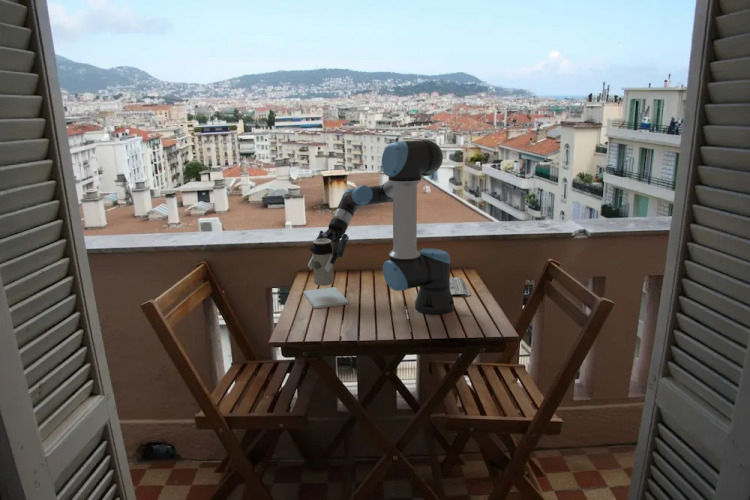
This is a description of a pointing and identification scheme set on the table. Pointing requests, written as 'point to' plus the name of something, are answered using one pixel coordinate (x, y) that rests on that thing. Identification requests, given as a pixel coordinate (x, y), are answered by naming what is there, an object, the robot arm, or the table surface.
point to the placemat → (325, 297)
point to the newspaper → (458, 287)
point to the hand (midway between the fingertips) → (318, 268)
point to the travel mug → (322, 262)
